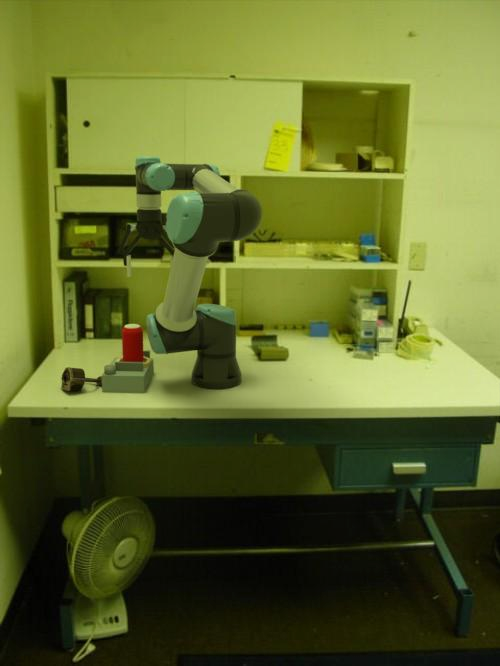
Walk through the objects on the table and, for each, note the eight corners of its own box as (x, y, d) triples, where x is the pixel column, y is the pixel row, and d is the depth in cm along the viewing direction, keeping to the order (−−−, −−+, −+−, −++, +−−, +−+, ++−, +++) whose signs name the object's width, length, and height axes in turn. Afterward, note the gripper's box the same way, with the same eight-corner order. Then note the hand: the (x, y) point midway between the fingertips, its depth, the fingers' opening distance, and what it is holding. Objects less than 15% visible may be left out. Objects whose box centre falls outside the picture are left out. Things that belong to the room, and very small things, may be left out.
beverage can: (138, 360, 189) (138, 322, 186) (146, 365, 184) (146, 326, 181) (119, 362, 186) (118, 324, 183) (127, 368, 181) (126, 329, 178)
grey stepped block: (153, 373, 192) (153, 350, 190) (144, 392, 176) (143, 367, 174) (115, 372, 192) (114, 349, 190) (102, 391, 176) (101, 367, 174)
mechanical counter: (58, 366, 181) (56, 370, 171) (103, 360, 184) (103, 363, 174) (62, 390, 181) (60, 395, 171) (106, 383, 184) (107, 388, 174)
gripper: (190, 208, 193) (191, 275, 199) (111, 206, 193) (114, 273, 199) (188, 210, 186) (188, 279, 191) (105, 208, 186) (108, 277, 191)
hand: (150, 276), depth 195 cm, fingers open, 13 cm apart
